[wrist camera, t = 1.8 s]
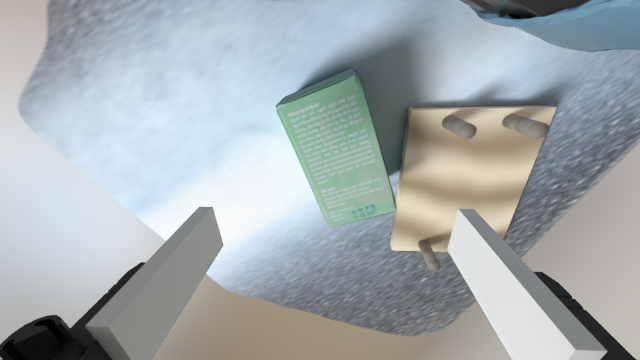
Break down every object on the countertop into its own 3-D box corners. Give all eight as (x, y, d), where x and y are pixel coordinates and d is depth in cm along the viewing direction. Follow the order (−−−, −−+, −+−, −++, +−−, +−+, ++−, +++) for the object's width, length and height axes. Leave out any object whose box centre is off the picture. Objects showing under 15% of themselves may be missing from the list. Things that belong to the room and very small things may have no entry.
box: (352, 66, 24) (358, 68, 17) (386, 178, 29) (400, 212, 23) (288, 93, 26) (270, 105, 19) (331, 194, 31) (329, 231, 24)
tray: (408, 107, 25) (424, 118, 21) (547, 105, 24) (597, 114, 20) (390, 244, 34) (398, 273, 29) (492, 246, 33) (518, 276, 28)
